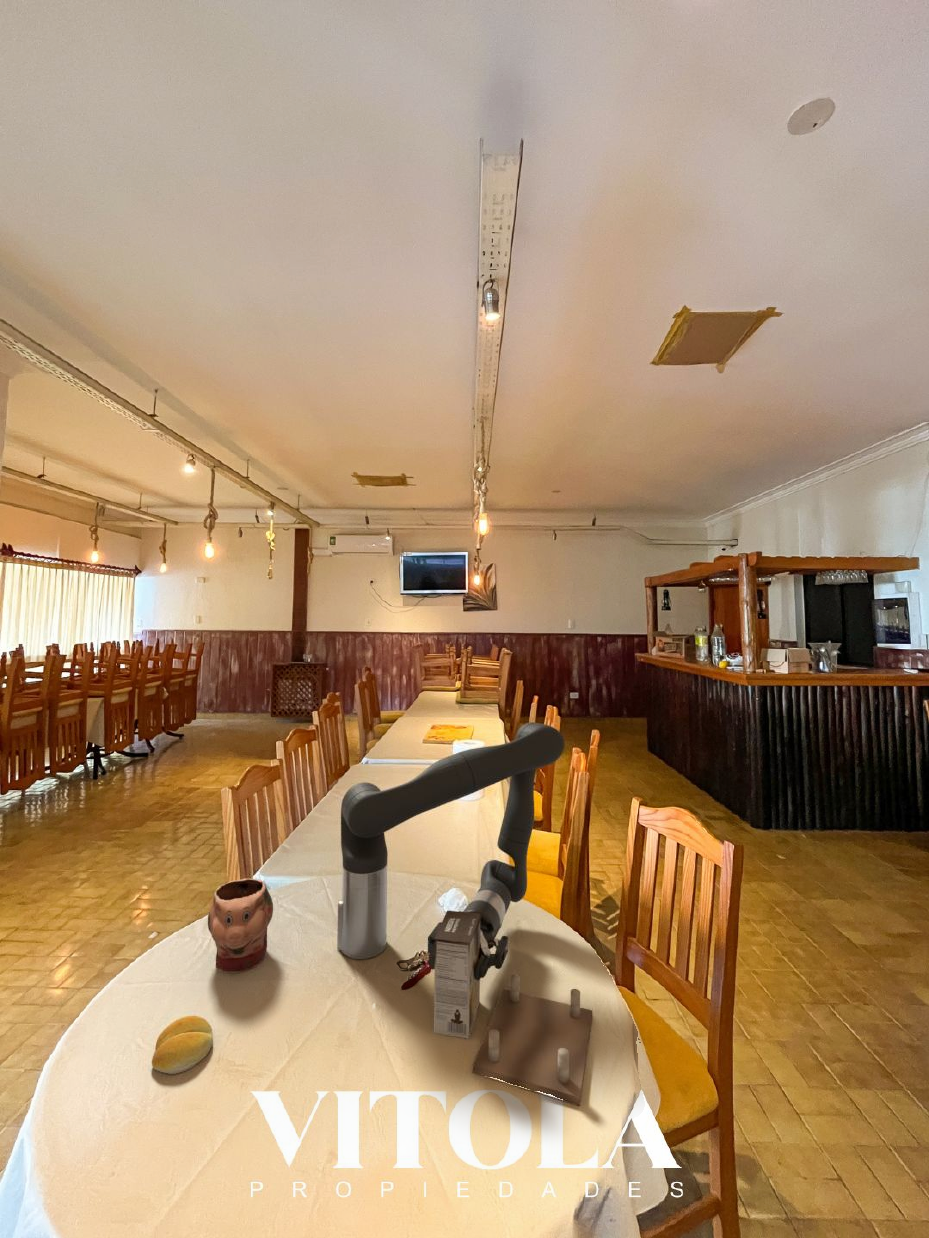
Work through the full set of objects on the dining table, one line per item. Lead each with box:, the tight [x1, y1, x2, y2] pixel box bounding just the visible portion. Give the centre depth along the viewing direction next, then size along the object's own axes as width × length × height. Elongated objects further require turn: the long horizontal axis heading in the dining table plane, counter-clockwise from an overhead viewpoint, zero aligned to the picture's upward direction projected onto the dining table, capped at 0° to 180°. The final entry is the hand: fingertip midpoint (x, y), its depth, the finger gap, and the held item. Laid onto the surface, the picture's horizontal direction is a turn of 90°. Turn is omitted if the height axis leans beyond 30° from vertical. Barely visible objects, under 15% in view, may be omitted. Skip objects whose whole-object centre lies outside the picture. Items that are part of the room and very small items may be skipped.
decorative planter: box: [207, 877, 274, 973], centre depth 109 cm, size 20×12×14 cm, turn 24°
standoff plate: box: [472, 974, 593, 1106], centre depth 88 cm, size 16×18×5 cm
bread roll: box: [151, 1015, 214, 1075], centre depth 85 cm, size 8×9×4 cm
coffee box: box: [433, 910, 481, 1039], centre depth 93 cm, size 9×6×16 cm
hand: (454, 969), depth 91 cm, fingers open, 7 cm apart
